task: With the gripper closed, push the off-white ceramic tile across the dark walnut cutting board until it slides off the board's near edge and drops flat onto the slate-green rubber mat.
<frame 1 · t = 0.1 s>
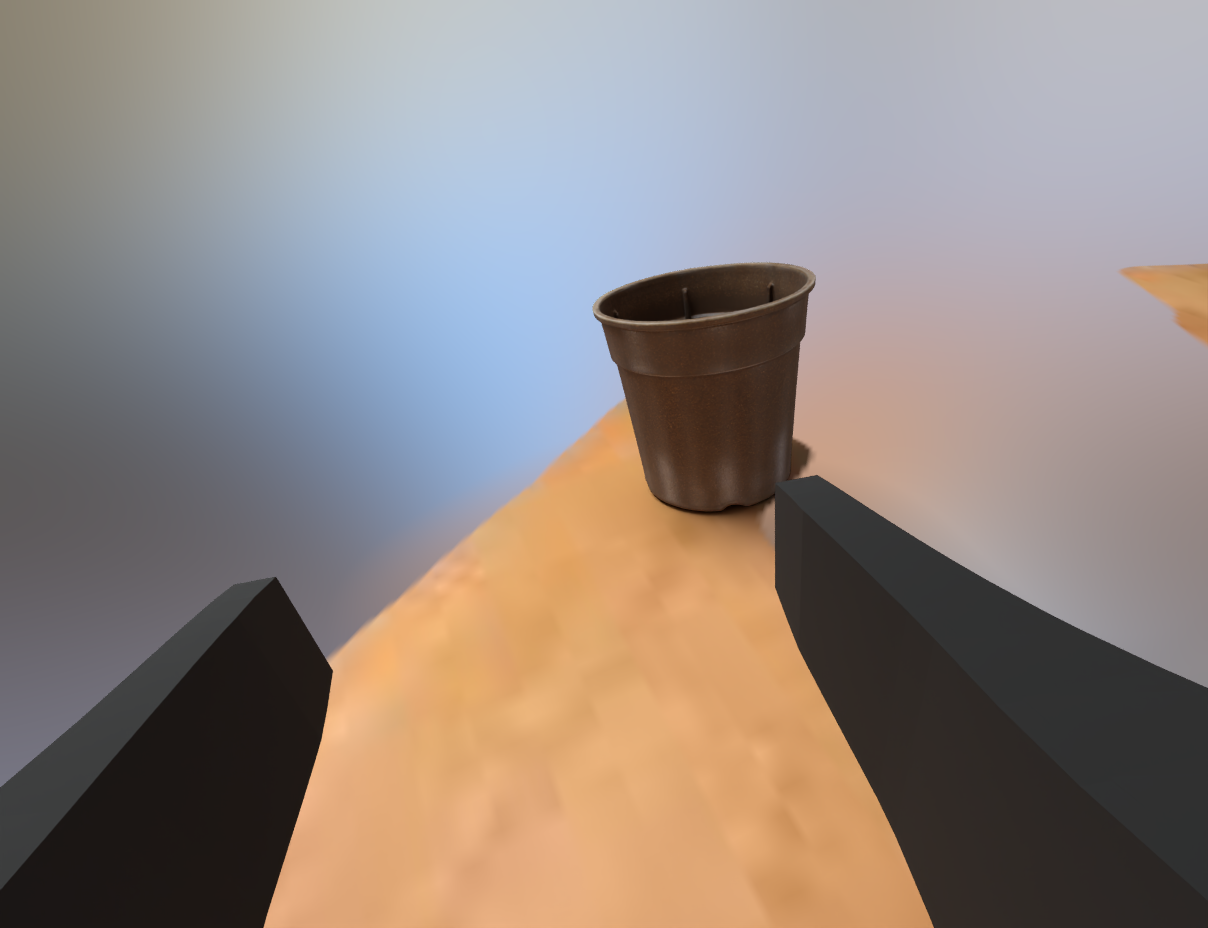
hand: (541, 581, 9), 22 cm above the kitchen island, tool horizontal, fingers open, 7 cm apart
plant pot: (717, 475, 53), on the kitchen island
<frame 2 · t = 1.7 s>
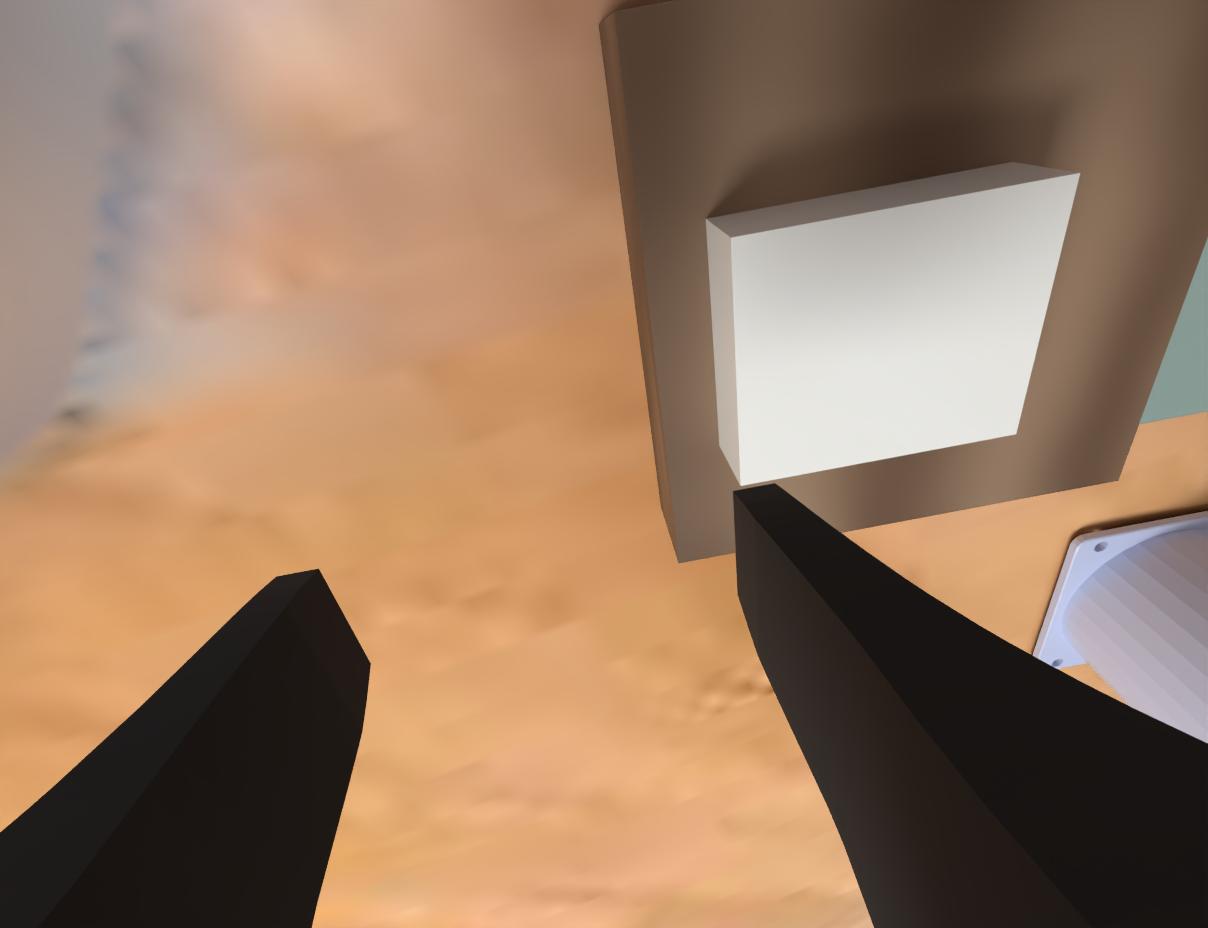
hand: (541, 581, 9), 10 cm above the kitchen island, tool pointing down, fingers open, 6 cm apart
tile: (850, 318, 15), point 3 cm above the kitchen island, touching board
board: (871, 272, 18), on the kitchen island
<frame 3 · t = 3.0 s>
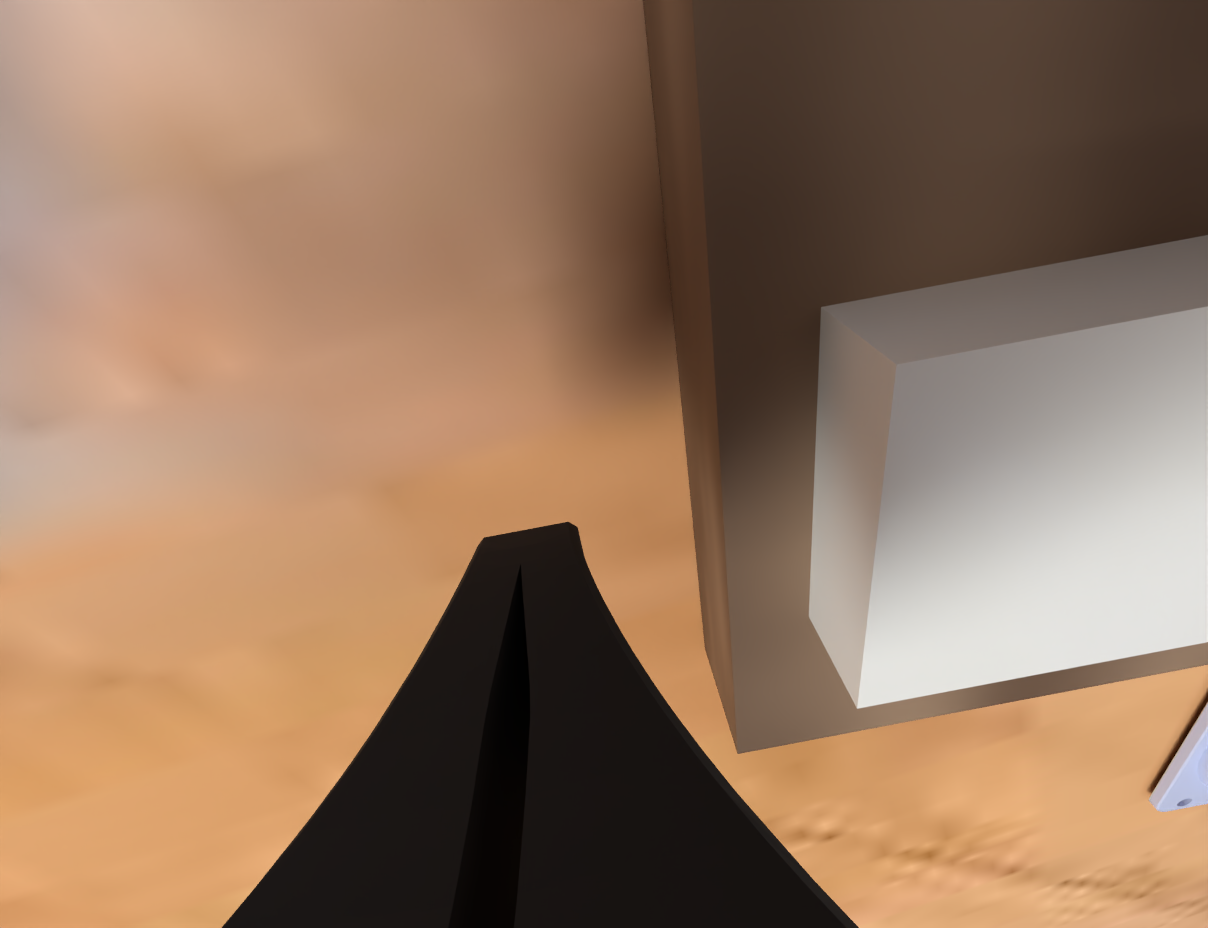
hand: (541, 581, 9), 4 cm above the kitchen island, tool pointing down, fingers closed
tile: (1026, 447, 10), point 3 cm above the kitchen island, touching board
board: (1021, 355, 12), on the kitchen island
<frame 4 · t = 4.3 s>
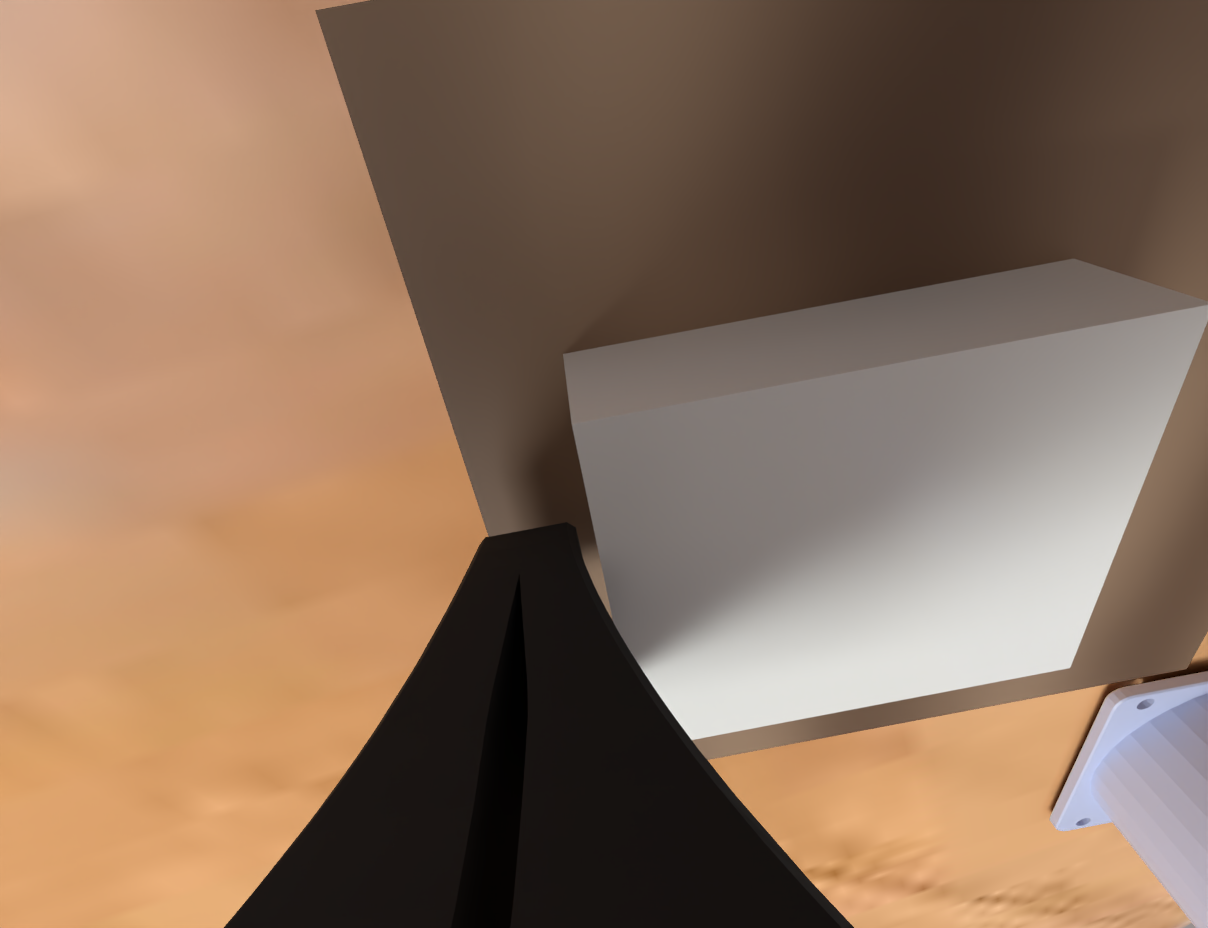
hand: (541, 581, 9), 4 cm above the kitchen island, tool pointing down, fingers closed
tile: (812, 486, 10), point 3 cm above the kitchen island, touching board, gripper
board: (839, 388, 12), on the kitchen island
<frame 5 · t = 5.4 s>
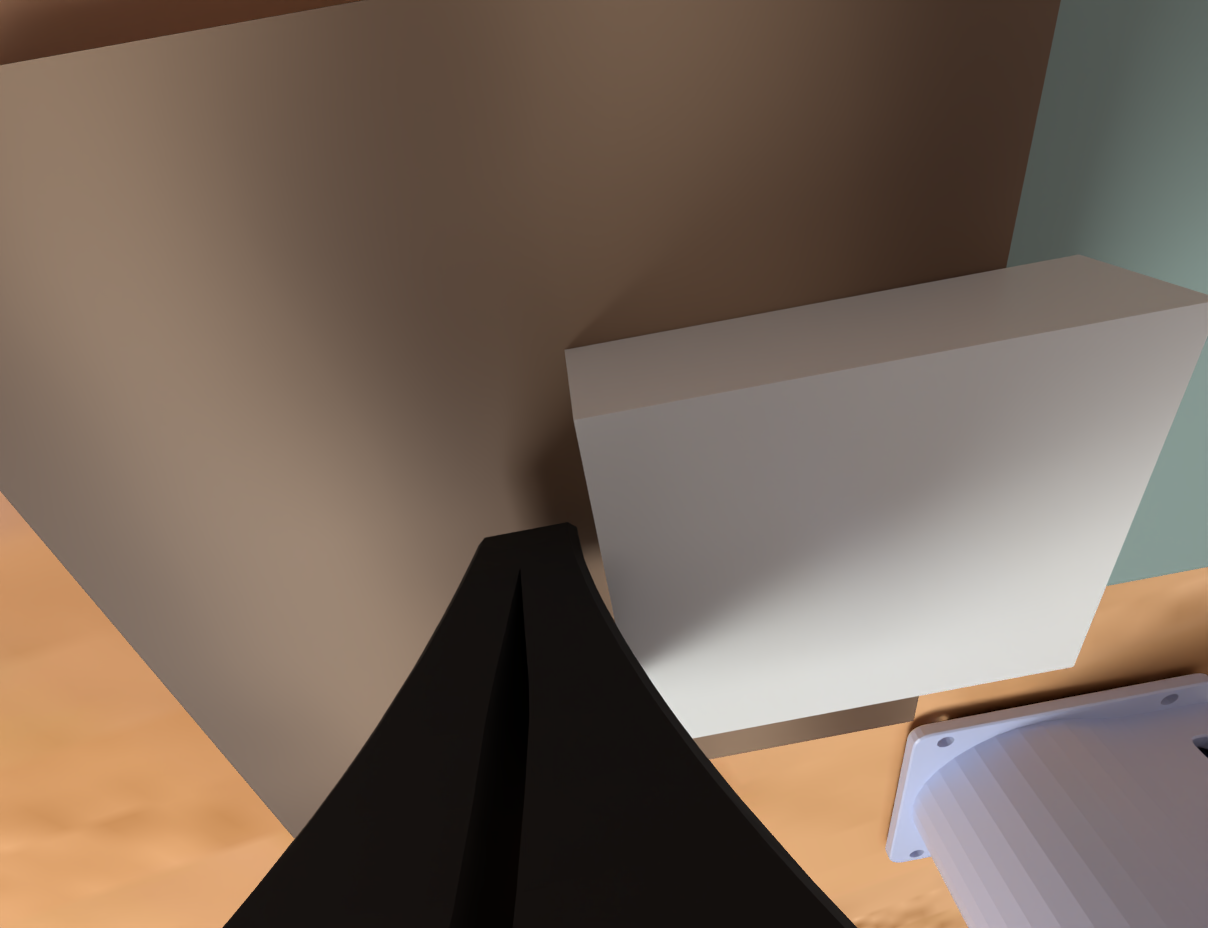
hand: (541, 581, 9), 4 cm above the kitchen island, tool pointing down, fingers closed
tile: (814, 484, 10), point 3 cm above the kitchen island
board: (537, 444, 12), on the kitchen island
mat: (1130, 335, 12), on the kitchen island
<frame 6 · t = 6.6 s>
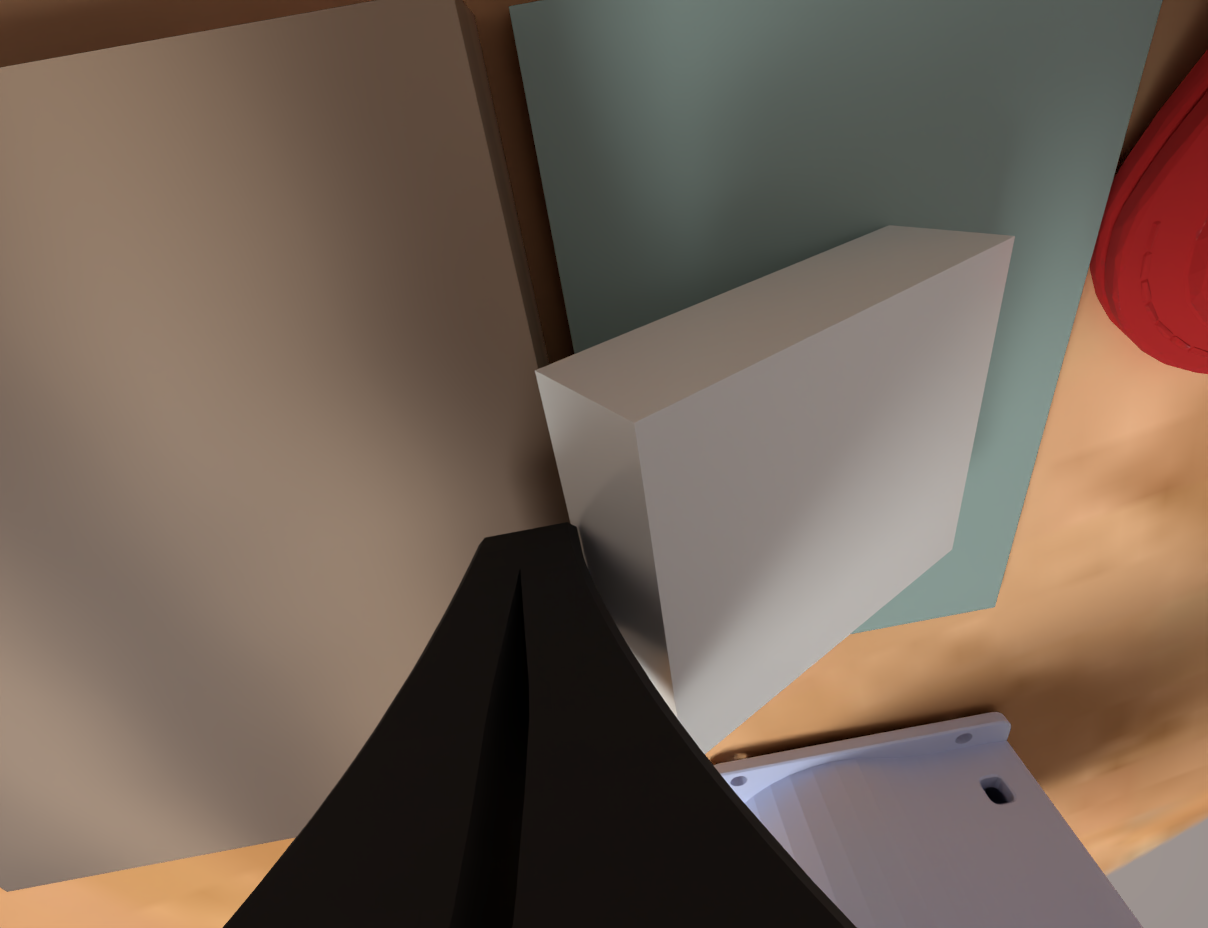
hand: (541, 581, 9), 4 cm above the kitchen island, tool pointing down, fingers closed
tile: (746, 458, 10), point 2 cm above the kitchen island, tilted 29°
board: (224, 502, 12), on the kitchen island
mat: (820, 392, 12), on the kitchen island
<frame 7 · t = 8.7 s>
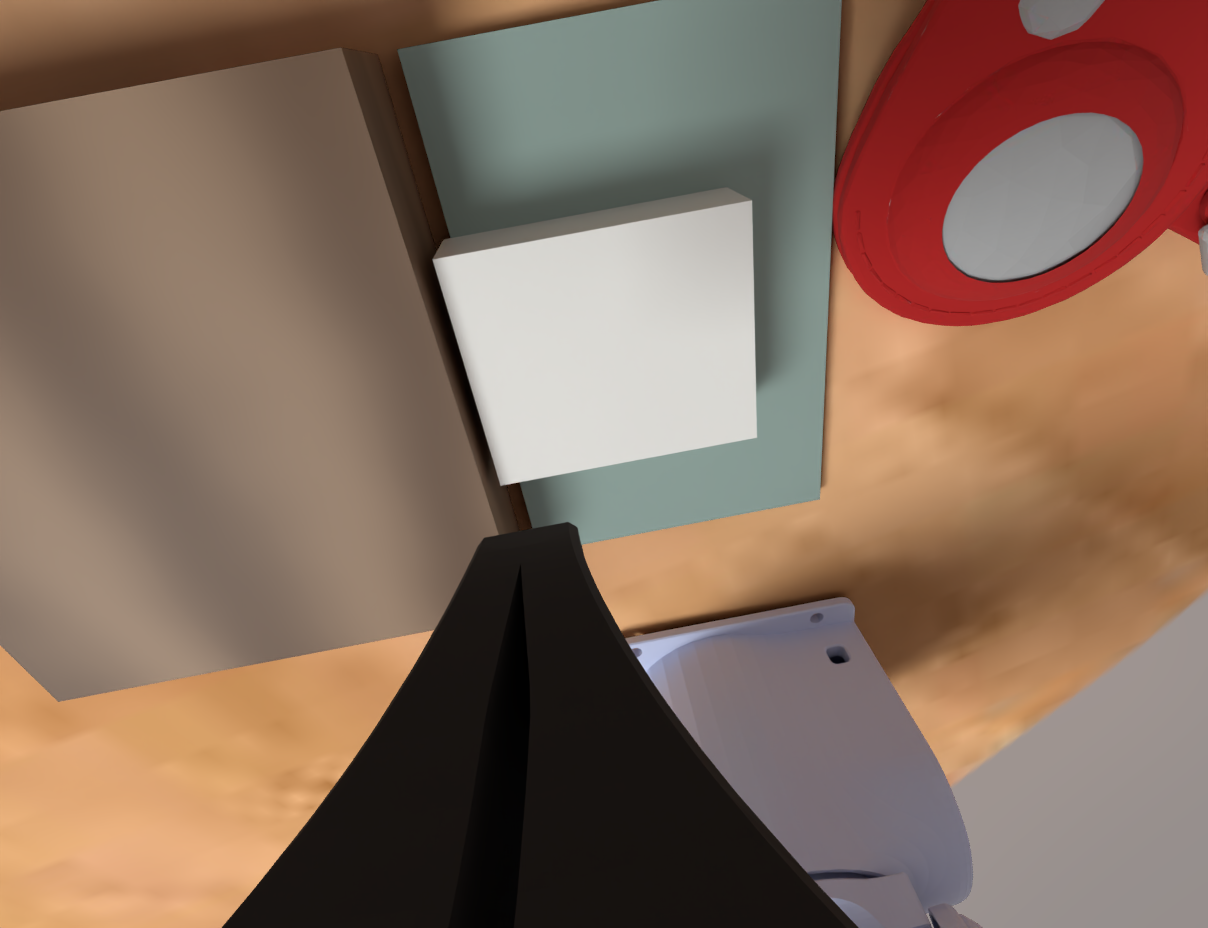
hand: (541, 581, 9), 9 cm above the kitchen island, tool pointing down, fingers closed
tracker holder: (1028, 166, 16), on the kitchen island
tile: (604, 330, 16), resting on mat
board: (218, 403, 17), on the kitchen island
mat: (654, 321, 17), on the kitchen island
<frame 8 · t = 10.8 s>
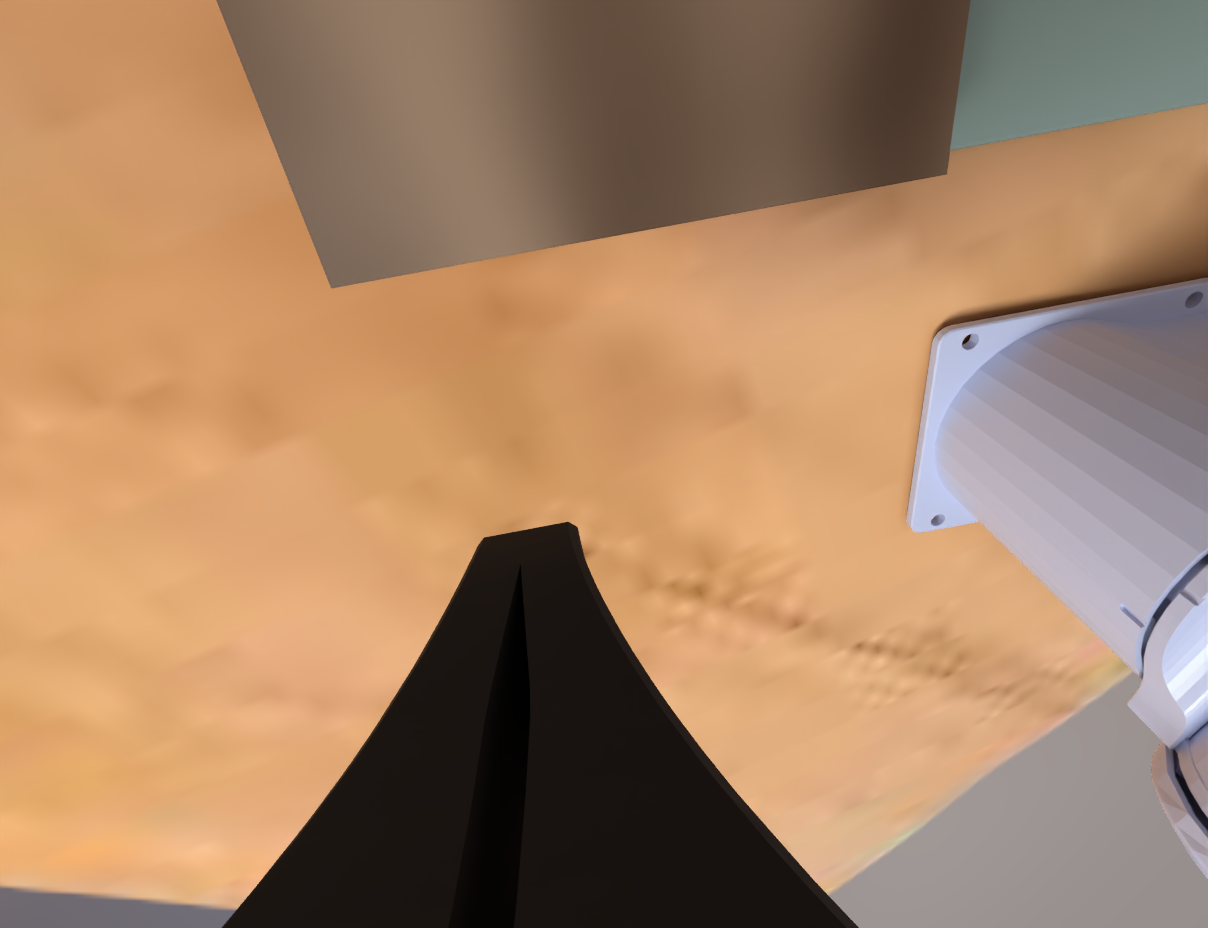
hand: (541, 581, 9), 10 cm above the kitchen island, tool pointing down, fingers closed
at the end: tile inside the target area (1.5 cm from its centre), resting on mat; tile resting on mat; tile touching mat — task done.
